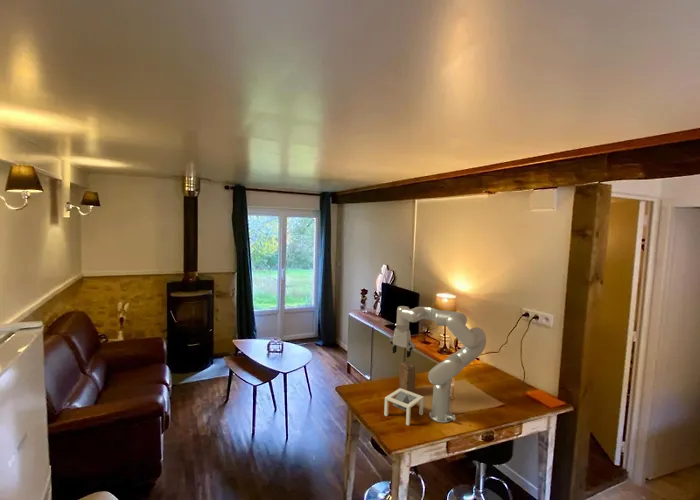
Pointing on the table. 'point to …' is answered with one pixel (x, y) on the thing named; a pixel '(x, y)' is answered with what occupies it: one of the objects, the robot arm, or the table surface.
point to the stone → (402, 398)
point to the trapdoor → (408, 403)
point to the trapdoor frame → (408, 406)
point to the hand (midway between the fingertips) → (401, 354)
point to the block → (407, 376)
